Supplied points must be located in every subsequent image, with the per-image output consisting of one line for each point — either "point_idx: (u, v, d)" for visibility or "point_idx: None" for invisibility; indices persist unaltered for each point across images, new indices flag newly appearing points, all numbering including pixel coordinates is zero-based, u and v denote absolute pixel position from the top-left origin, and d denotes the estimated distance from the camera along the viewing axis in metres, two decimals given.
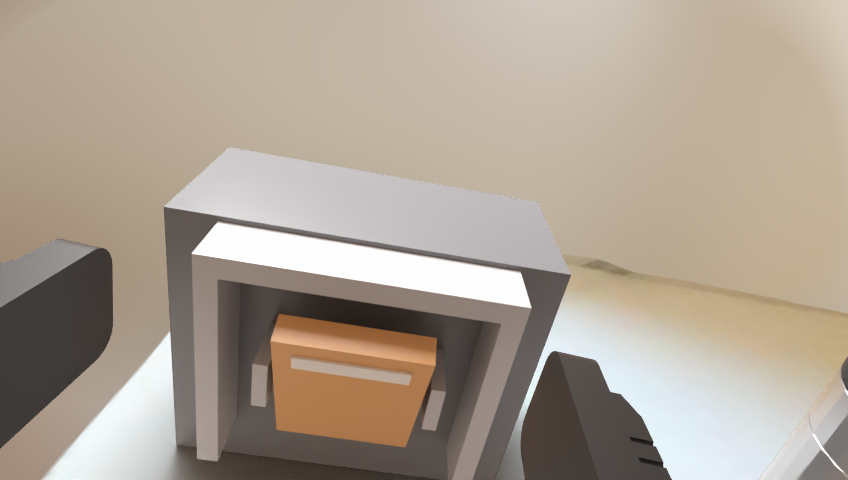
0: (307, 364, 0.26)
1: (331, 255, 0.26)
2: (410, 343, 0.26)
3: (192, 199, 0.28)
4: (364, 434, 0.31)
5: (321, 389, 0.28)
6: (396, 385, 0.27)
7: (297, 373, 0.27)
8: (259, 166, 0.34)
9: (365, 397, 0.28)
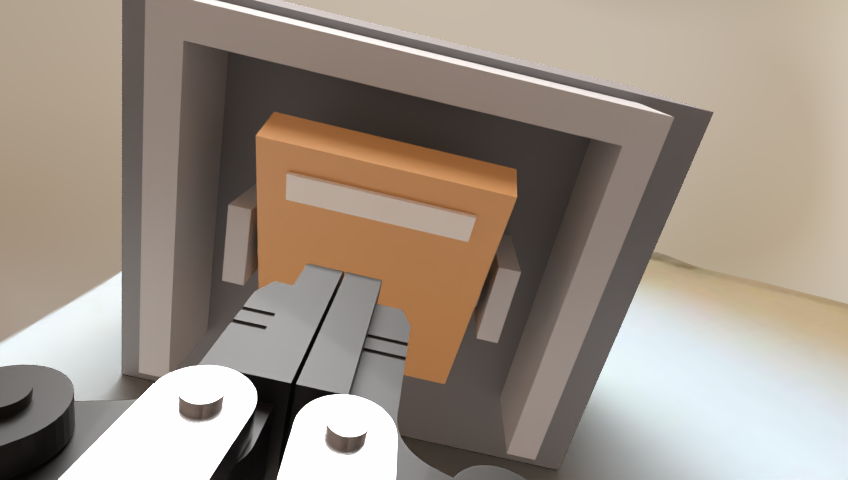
0: (311, 190, 0.16)
1: (360, 37, 0.17)
2: (476, 168, 0.16)
3: None
4: None
5: (330, 254, 0.18)
6: (447, 245, 0.17)
7: (295, 216, 0.17)
8: None
9: (396, 273, 0.18)
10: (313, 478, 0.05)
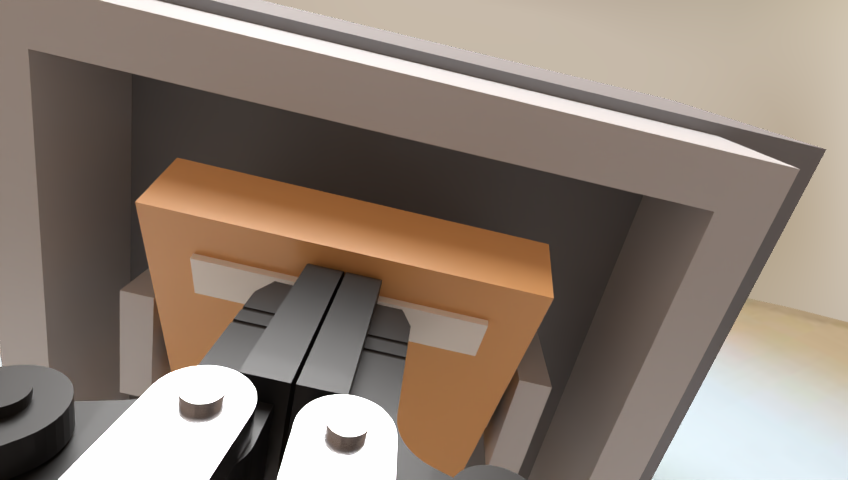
0: (232, 281, 0.10)
1: (313, 43, 0.12)
2: (487, 246, 0.11)
3: None
4: None
5: None
6: (443, 357, 0.11)
7: (213, 312, 0.11)
8: None
9: None
10: (313, 478, 0.05)
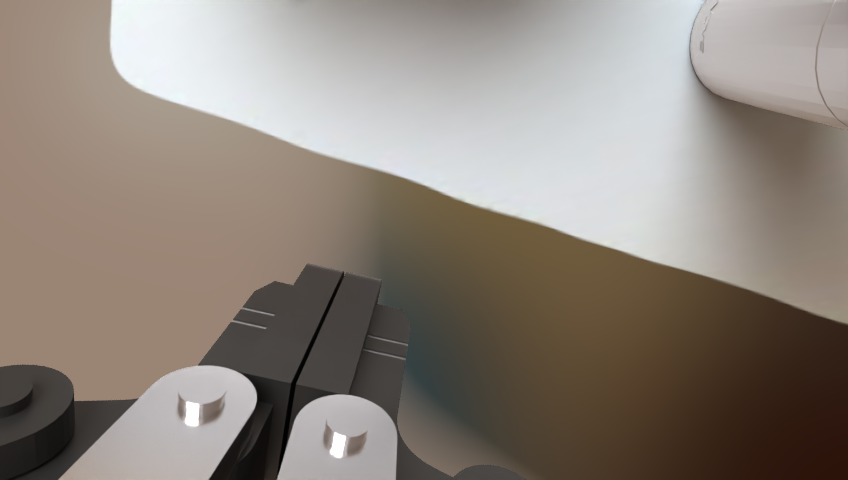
0: None
1: None
2: None
3: None
4: None
5: None
6: None
7: None
8: None
9: None
10: (313, 478, 0.05)
